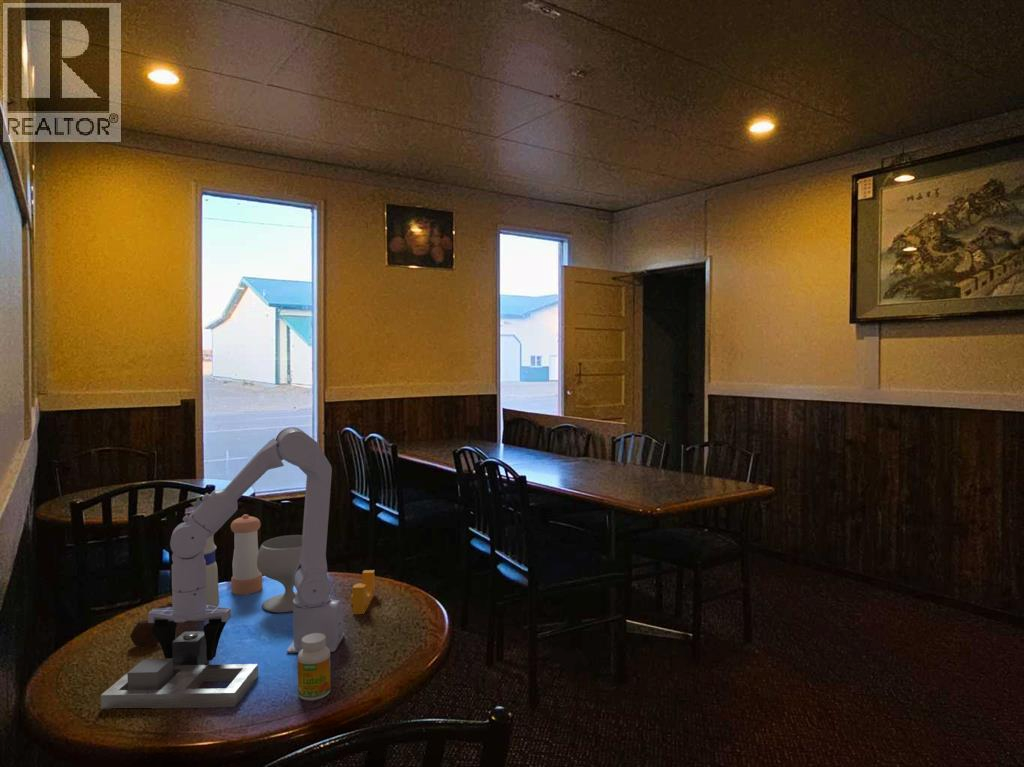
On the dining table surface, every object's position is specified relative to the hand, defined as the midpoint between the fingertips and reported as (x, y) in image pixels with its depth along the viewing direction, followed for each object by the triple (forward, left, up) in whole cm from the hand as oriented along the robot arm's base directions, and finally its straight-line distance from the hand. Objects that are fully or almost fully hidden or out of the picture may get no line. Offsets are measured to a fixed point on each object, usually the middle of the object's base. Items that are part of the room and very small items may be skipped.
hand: (190, 658), depth 118 cm
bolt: (+15, -17, -2) cm, 22 cm away
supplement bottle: (-26, +10, -2) cm, 28 cm away
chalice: (-8, -31, -2) cm, 32 cm away
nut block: (0, 0, -2) cm, 2 cm away
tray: (-3, +9, -2) cm, 10 cm away
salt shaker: (+6, -41, -2) cm, 41 cm away
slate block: (+2, +9, -2) cm, 10 cm away
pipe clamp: (-25, -30, -2) cm, 39 cm away
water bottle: (+13, -31, -2) cm, 34 cm away
